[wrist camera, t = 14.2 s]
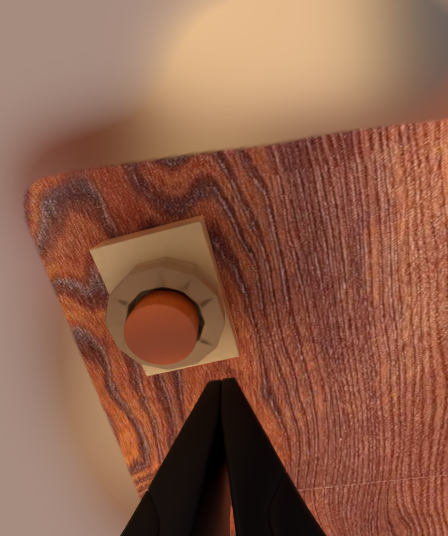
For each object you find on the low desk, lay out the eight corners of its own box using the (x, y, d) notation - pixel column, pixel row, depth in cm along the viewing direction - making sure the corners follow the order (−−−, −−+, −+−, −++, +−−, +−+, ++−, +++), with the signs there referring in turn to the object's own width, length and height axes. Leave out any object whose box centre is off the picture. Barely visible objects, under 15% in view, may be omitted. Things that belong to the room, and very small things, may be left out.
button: (122, 298, 16) (111, 313, 14) (188, 282, 15) (184, 296, 14) (146, 352, 17) (138, 372, 16) (206, 339, 17) (205, 357, 15)
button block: (103, 240, 18) (73, 259, 14) (202, 214, 18) (197, 227, 14) (153, 356, 22) (139, 396, 18) (237, 338, 21) (241, 375, 17)
